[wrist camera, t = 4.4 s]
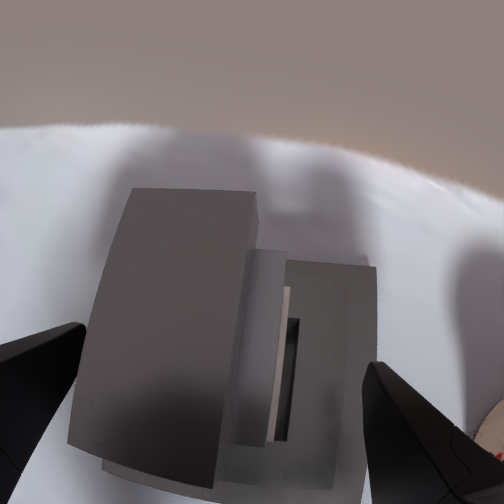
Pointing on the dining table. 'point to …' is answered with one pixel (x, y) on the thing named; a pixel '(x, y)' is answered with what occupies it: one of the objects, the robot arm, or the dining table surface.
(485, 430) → the teacup with lid
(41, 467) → the dining table surface
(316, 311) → the stand base
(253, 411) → the column
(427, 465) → the robot arm
